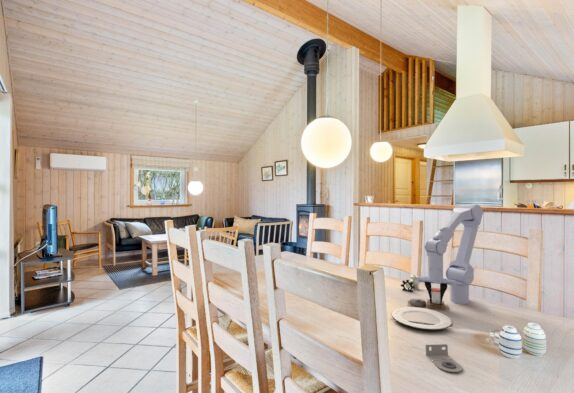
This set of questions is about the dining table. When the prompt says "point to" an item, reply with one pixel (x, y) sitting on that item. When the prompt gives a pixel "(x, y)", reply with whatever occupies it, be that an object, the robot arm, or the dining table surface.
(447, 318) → the plate
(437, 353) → the bracket
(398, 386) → the dining table surface
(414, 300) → the board
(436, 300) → the pin
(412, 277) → the valve
